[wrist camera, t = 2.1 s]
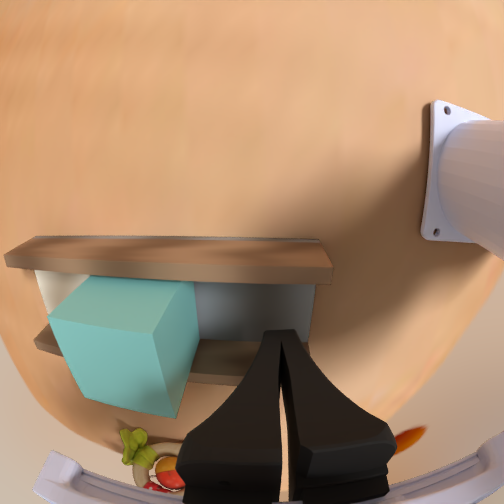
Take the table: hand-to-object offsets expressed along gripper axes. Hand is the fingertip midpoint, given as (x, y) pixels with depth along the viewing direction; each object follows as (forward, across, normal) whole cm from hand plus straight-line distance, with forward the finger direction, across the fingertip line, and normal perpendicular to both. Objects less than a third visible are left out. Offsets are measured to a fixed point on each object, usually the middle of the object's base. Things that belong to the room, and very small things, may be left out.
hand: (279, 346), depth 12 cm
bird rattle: (+4, +11, +17) cm, 21 cm away
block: (+3, +7, 0) cm, 8 cm away
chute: (+4, +7, 0) cm, 8 cm away
